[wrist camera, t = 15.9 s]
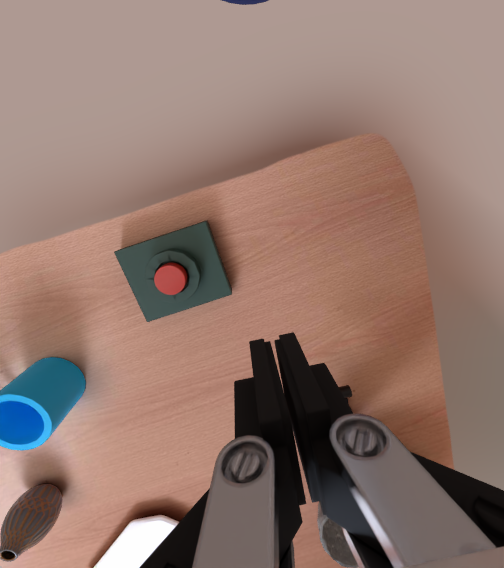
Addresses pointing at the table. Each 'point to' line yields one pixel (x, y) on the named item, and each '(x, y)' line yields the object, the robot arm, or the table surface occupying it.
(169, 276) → the button
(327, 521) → the bowl
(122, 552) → the plate
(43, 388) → the mug
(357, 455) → the robot arm
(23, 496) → the vase
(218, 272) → the button box
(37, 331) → the table surface
